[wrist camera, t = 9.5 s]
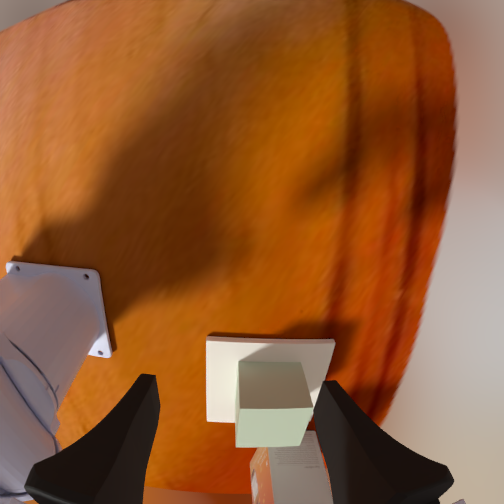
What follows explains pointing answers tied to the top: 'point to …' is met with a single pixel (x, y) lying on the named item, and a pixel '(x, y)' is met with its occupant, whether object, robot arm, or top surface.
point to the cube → (271, 404)
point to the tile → (258, 350)
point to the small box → (290, 474)
